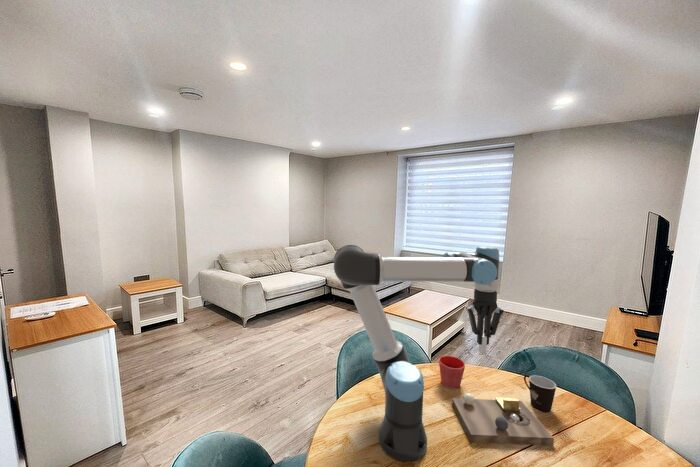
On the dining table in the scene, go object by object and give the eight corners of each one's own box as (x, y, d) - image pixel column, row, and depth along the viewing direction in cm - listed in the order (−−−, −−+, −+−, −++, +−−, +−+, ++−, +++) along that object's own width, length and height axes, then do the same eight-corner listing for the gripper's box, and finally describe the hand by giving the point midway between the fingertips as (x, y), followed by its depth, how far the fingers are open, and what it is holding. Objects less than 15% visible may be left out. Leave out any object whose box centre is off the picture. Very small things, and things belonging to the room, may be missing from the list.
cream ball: (465, 407, 103) (465, 397, 103) (461, 400, 107) (462, 390, 107) (475, 407, 103) (476, 397, 103) (471, 400, 107) (472, 391, 107)
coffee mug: (559, 416, 103) (561, 390, 102) (533, 412, 105) (534, 387, 104) (544, 396, 114) (545, 372, 114) (520, 393, 116) (522, 370, 115)
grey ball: (498, 433, 91) (498, 421, 91) (492, 424, 95) (493, 413, 95) (510, 433, 91) (510, 422, 91) (504, 424, 95) (504, 414, 95)
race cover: (503, 410, 102) (503, 400, 101) (495, 399, 108) (495, 389, 107) (520, 411, 101) (520, 400, 101) (511, 400, 107) (511, 390, 107)
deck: (470, 441, 91) (471, 434, 90) (452, 404, 109) (452, 398, 108) (553, 445, 90) (553, 438, 90) (520, 407, 108) (521, 400, 108)
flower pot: (466, 381, 124) (467, 359, 124) (461, 394, 115) (462, 371, 114) (441, 373, 130) (442, 353, 129) (435, 385, 121) (435, 363, 120)
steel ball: (510, 424, 97) (515, 416, 97) (505, 417, 101) (510, 409, 100) (518, 429, 97) (524, 421, 97) (513, 422, 101) (518, 414, 100)
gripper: (471, 291, 99) (468, 357, 100) (509, 292, 98) (505, 358, 100) (463, 286, 106) (460, 347, 108) (498, 287, 106) (495, 348, 107)
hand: (482, 352), depth 104 cm, fingers closed
